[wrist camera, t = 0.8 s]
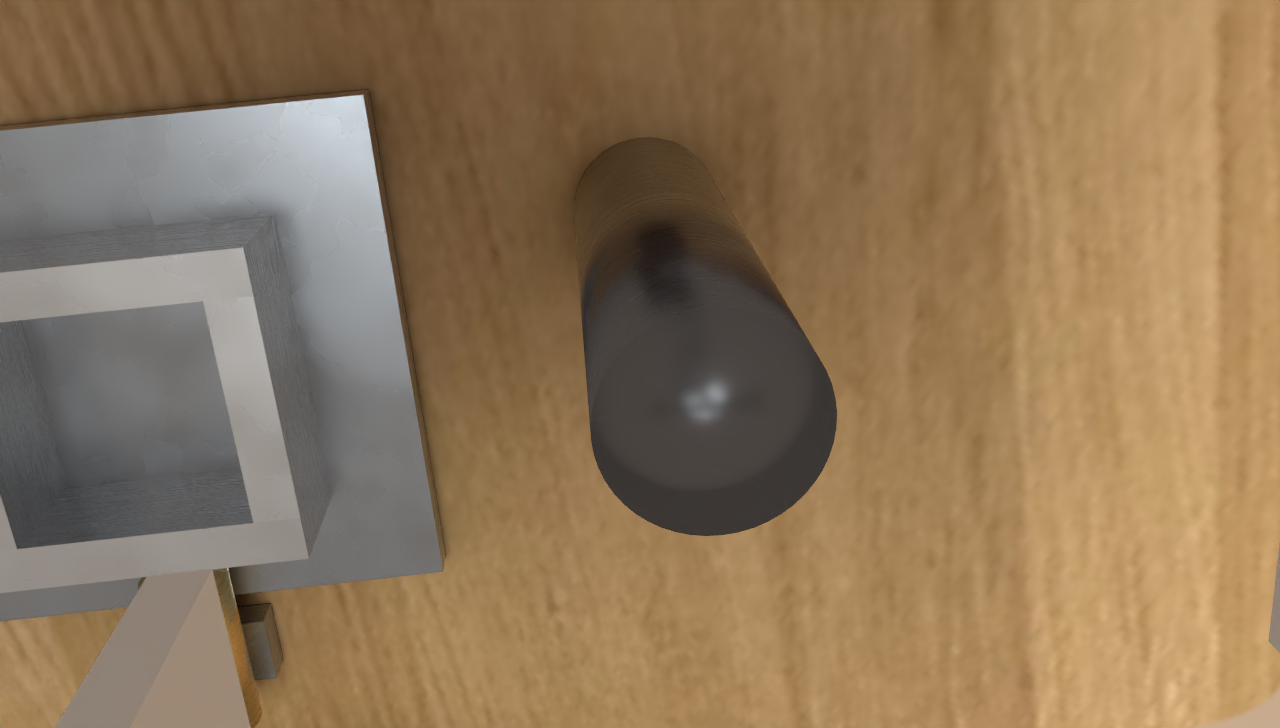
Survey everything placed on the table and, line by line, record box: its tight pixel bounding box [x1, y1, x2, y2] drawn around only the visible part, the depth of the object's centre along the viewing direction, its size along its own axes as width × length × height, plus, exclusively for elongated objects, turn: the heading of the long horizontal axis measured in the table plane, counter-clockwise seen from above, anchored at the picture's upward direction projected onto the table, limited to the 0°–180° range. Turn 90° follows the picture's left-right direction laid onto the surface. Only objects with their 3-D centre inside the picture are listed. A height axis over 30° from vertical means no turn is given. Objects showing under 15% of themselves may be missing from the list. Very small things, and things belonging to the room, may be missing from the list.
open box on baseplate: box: [0, 89, 446, 728], centre depth 33 cm, size 18×14×4 cm
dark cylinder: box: [574, 138, 837, 536], centre depth 27 cm, size 4×4×15 cm
